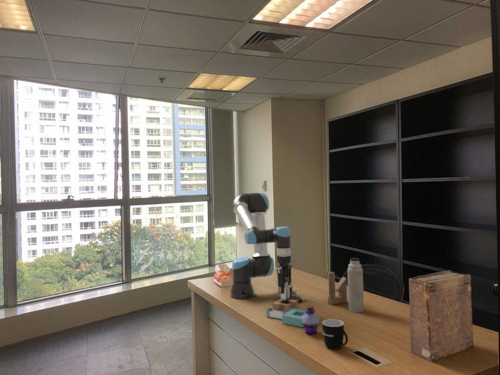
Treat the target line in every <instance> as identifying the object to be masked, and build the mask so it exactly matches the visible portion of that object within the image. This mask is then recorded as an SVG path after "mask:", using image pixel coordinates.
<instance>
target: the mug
mask: <svg viewBox="0 0 500 375" xmlns="http://www.w3.org/2000/svg"><path fill="white" fill-rule="evenodd" d="M321 325H322V336H323V341H324V345H325V347H326V348H327V349H329V350H333V349H337V350H340V349H341V348H342V346H343V347H344V346H346V345H348V342H349V337H348V333H347V332H346V331H345V322H343V320H340V319H335V318H334V319H333V318H329V319H328V318H327V319H325V320H323V321H322V324H321ZM344 337H345V338H344ZM344 339H345V341H344Z"/></svg>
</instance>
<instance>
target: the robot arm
mask: <svg viewBox="0 0 500 375" xmlns="http://www.w3.org/2000/svg"><path fill="white" fill-rule="evenodd" d="M269 201H270V200H269V197H268V196H267V195H266V193H265V192H254V193H253V192H251V193H240V194H238V195H236V197H235V198H234V199H233V201H232V206H231V208H232V211H233V213H234V214H235V215H236V216H237V218H238V219H239V221H240V223H241V225H242V229H244V230H243V231H245V232H244V236H243V237H244V243H245V244H247V245H253V251H254V252H253V255H252V256H251V257H249V256H245V257H244V256H241V257H238V258H235V259H233V260H232V263H231V264H232V265H231V266H232V267H231V270H232V271H231V272H232V286H231V288H230V289H231V290H230V291H229V292H230V294H229V295H230V297H231V298H233V299H239V300H240V299H241V300H242V299H250V298H252V297H254V296H255V290H254V287H253V284H252V278H254V279H255V278H262V277H264V278H265V277H269V276H272V274H273V272H274V270H275V260H274V258H273V257H272V256H271V253H269V251H268V244H270V243H276V255H277V256H276V262H277V263H278V264H279V266H278V267H279V268H277V269H276V274H277V286H278V288H279V287H280V292H281V297H280V299H284V300H286V287H285V276H286V277H289V281H288V293H289V287H290V286H291V285H292V284H291V283H292V264H290V263H291V262H292V256H291V253H292V250H291V229H290V227H289V226H277V227H275V228H274V227H273V228H270V229H267V228H266V219H265V215H266V214H267V211H269V208H270V202H269ZM289 297H290V294H289Z"/></svg>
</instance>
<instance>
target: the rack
mask: <svg viewBox="0 0 500 375" xmlns="http://www.w3.org/2000/svg"><path fill="white" fill-rule="evenodd" d="M293 308H294V309H299V303H298V300H295V299H289V303H288V304H285V303H282V299H281V298H279V299H278V300H276V301H275V302H273V303H272V310H278V311H283V312H286V313H287V312H288V311H290V310H291V309H293Z"/></svg>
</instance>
